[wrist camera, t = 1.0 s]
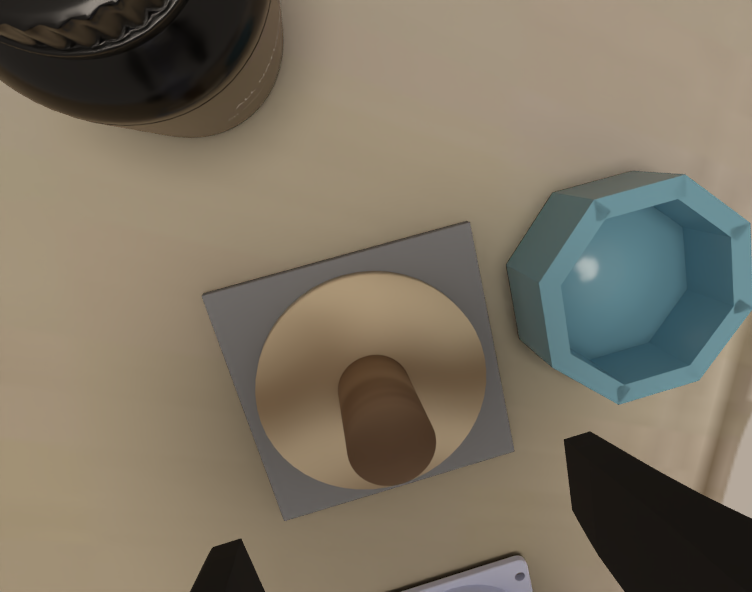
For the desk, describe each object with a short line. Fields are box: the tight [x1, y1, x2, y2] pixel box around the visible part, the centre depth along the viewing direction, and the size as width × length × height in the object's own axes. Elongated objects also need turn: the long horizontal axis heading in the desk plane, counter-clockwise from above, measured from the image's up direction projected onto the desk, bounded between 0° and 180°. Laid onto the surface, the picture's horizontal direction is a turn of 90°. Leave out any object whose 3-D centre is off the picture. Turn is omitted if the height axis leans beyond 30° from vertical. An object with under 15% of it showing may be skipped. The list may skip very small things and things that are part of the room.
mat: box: [202, 221, 514, 521], centre depth 22 cm, size 11×11×1 cm
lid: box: [255, 271, 486, 489], centre depth 20 cm, size 10×10×5 cm
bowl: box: [506, 171, 752, 405], centre depth 21 cm, size 8×8×3 cm
